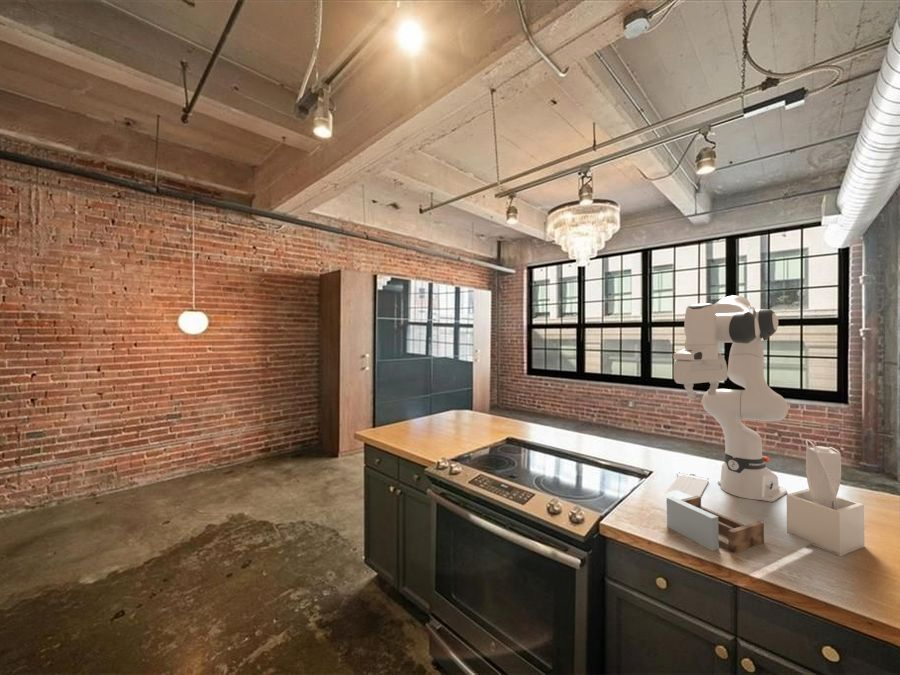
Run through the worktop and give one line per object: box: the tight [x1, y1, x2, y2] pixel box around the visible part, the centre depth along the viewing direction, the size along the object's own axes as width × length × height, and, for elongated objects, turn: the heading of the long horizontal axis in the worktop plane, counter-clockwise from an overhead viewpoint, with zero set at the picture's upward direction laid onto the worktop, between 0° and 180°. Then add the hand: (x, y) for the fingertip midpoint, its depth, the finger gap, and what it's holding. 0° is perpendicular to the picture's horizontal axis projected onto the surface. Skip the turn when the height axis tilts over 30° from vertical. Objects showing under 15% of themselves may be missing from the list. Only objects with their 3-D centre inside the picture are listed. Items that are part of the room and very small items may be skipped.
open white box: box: [785, 488, 865, 557], centre depth 108 cm, size 12×12×12 cm
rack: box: [680, 496, 765, 554], centre depth 112 cm, size 13×19×7 cm
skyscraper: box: [805, 438, 842, 510], centre depth 108 cm, size 8×8×28 cm
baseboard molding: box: [665, 471, 709, 498], centre depth 142 cm, size 31×3×12 cm
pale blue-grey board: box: [666, 496, 720, 552], centre depth 108 cm, size 2×14×10 cm, turn 20°
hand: (701, 396), depth 119 cm, fingers open, 8 cm apart
